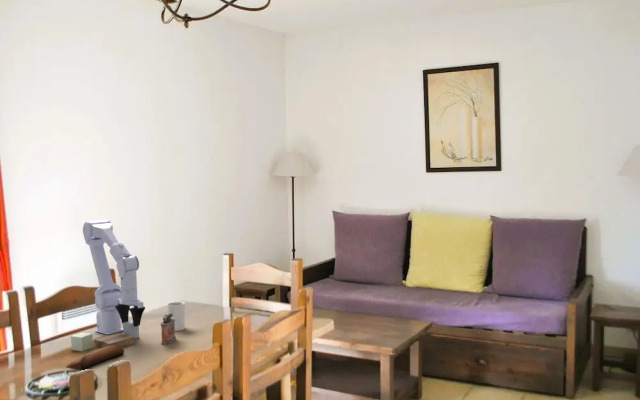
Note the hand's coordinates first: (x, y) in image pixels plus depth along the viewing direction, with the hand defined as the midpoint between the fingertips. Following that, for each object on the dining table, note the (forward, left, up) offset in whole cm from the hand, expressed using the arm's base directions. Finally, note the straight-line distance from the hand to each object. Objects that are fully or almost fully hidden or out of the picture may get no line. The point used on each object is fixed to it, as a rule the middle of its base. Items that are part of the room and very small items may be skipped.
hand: (130, 324), depth 231 cm
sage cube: (-3, -18, -5) cm, 19 cm away
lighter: (+16, +5, -5) cm, 18 cm away
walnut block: (+3, -9, -6) cm, 11 cm away
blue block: (0, 0, -5) cm, 5 cm away
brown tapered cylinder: (+14, -23, -6) cm, 28 cm away
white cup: (+4, +18, -5) cm, 19 cm away
